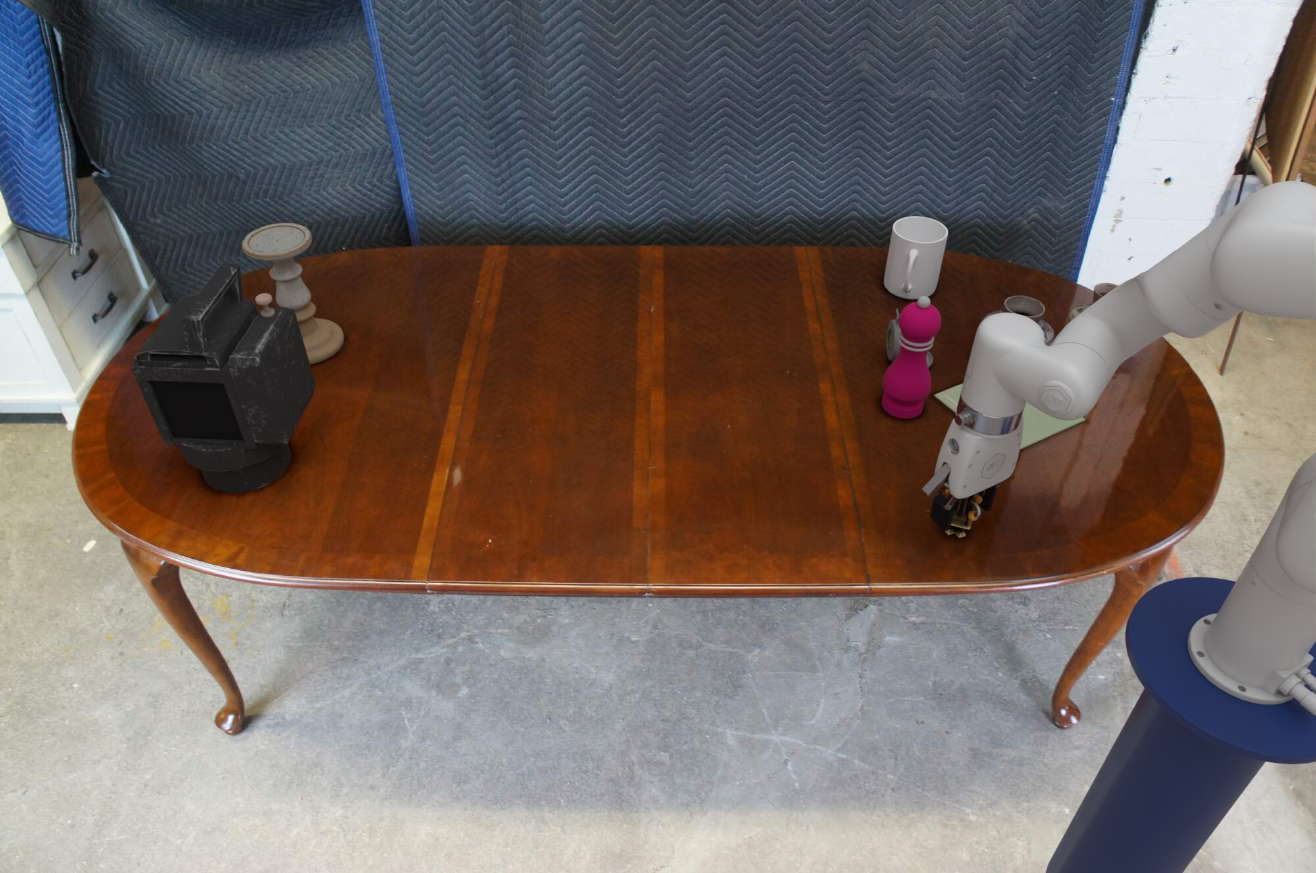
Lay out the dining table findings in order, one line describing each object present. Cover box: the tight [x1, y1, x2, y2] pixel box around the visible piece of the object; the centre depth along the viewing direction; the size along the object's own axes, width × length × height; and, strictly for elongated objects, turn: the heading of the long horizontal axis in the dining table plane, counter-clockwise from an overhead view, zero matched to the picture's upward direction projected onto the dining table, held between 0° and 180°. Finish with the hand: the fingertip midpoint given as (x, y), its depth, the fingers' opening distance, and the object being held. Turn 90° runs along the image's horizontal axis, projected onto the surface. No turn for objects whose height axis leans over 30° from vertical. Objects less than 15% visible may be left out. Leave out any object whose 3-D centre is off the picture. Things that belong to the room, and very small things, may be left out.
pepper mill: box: [881, 296, 942, 420], centre depth 146 cm, size 7×7×20 cm
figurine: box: [944, 488, 985, 539], centre depth 130 cm, size 5×5×8 cm
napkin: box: [933, 382, 1086, 451], centre depth 152 cm, size 16×16×1 cm
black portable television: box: [130, 262, 317, 494], centre depth 133 cm, size 15×18×30 cm
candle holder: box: [241, 222, 345, 366], centre depth 158 cm, size 12×12×20 cm
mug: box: [883, 215, 949, 301], centre depth 174 cm, size 10×12×12 cm
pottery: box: [981, 282, 1120, 346], centre depth 158 cm, size 11×25×12 cm, turn 101°
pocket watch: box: [885, 308, 934, 369], centre depth 158 cm, size 8×8×10 cm
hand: (960, 513), depth 131 cm, fingers closed on figurine, 6 cm apart
